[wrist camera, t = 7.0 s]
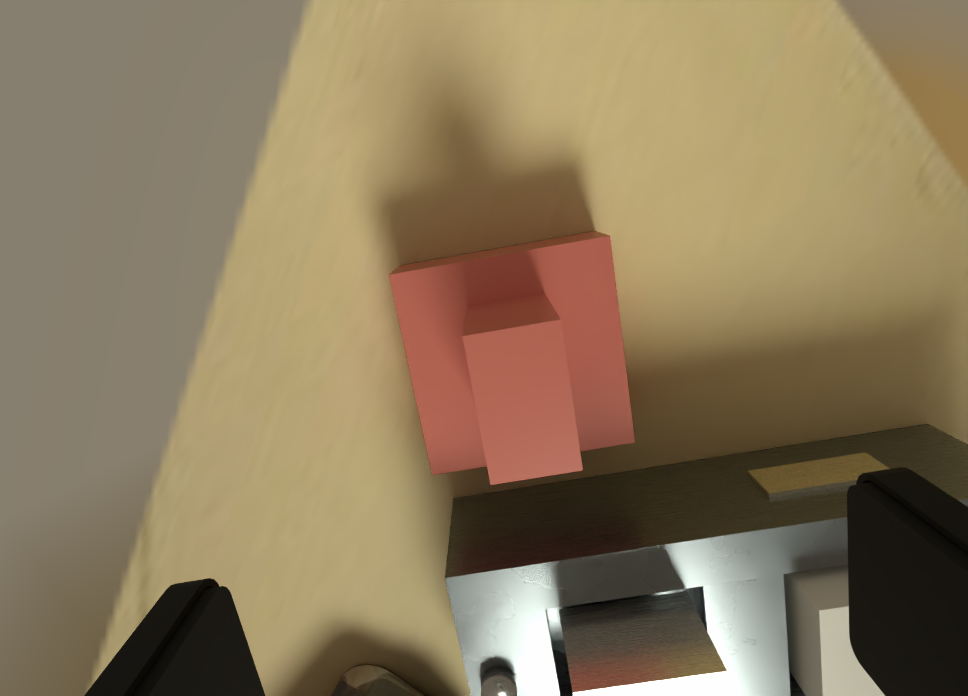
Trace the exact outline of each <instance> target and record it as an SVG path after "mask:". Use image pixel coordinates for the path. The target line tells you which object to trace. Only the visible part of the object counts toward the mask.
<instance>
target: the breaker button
mask: <svg viewBox="0 0 968 696" xmlns="http://www.w3.org/2000/svg"><path fill="white" fill-rule="evenodd" d="M784 591H785V609H786V626H787V643H788V660H789V670H790V672H791V674H792V675H793V677H794V678H795V680H796V681H797V683H798V685H799V686H800V688H801V689H802V691H803V692H804V694H805V696H885V695H884V694H883V692H882V691H881V690H880V689H879V687H878V686H877V685H876V684H875V682H874V681H873V680H872V679H871V677H870V676H869V675H868V674H867V672H866V671H865V670H864V669H863V667H862V666H861V665H860V663H859V662H858V660H857V658H856V656H855V654H854V652H853V649H852V647H851V643H850V637H849V593H848V565H842V566H835V567H829V568H822V569H815V570H808V571H802V572H795V573H788V574H784Z"/></svg>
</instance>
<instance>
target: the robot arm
mask: <svg viewBox="0 0 968 696" xmlns="http://www.w3.org/2000/svg"><path fill="white" fill-rule="evenodd" d="M847 533H848V593H849V637H850V643H851V647H852V649H853V652H854V654H855V656H856V658H857V660H858V662H859V663H860V665H861V666H862V667H863V669H864V670H865V671H866V672H867V674H868V675H869V676H870V677H871V679H872V680H873V681H874V682H875V684H876V685H877V686H878V687H879V689H880V690H881V691H882V692H883V694H884V695H885V696H968V507H967V506H966V505H964V504H963V503H961V502H960V501H958V500H957V499H955V498H954V497H952V496H951V495H949V494H947V493H946V492H944V491H943V490H941V489H940V488H938V487H937V486H935V485H934V484H932V483H931V482H929V481H928V480H926V479H924V478H923V477H921V476H920V475H918V474H917V473H915V472H914V471H912V470H910V469H908V468H906V467H898V468H892V469H885V470H879V471H873V472H867V473H862V474H861V475H859V477H858V479H857V481H856V485H852V486H850V487H849V489H848V491H847ZM85 696H265V694H264V691H263V688H262V685H261V682H260V679H259V676H258V673H257V670H256V667H255V664H254V661H253V658H252V655H251V652H250V649H249V646H248V643H247V640H246V637H245V634H244V631H243V628H242V625H241V622H240V619H239V616H238V613H237V610H236V607H235V604H234V602H233V599H232V596H231V593H230V591H229V590H228V589H227V587H224V586H221V587H219V585H218V583H217V582H216V581H215V580H214V579H210V578H209V579H203V580H196V581H190V582H184V583H178V584H174V585H171V586H170V587H169V588H168V589H167V590H166V591H165V592H164V593H163V595H162V596H161V597H160V598H159V600H158V601H157V602H156V604H155V605H154V606H153V608H152V609H151V610H150V611H149V613H148V614H147V615H146V617H145V618H144V619H143V620H142V622H141V623H140V624H139V626H138V627H137V628H136V630H135V631H134V632H133V633H132V635H131V636H130V637H129V639H128V640H127V641H126V642H125V644H124V645H123V646H122V648H121V649H120V650H119V652H118V653H117V654H116V655H115V657H114V658H113V659H112V661H111V662H110V663H109V664H108V666H107V667H106V668H105V670H104V671H103V672H102V674H101V675H100V676H99V677H98V679H97V680H96V681H95V683H94V684H93V685H92V686H91V688H90V689H89V690H88V692H87V693H86V694H85Z"/></svg>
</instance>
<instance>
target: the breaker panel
mask: <svg viewBox="0 0 968 696" xmlns="http://www.w3.org/2000/svg"><path fill="white" fill-rule="evenodd" d="M898 467H906V468H908V469H910V470H912V471H914V472H915V473H917V474H918V475H920V476H921V477H923V478H924V479H926V480H928V481H929V482H931V483H932V484H934V485H935V486H937V487H938V488H940V489H941V490H943V491H944V492H946V493H947V494H949V495H951V496H952V497H954V498H955V499H957V500H958V501H960V502H961V503H963V504H964V505H966V506H967V507H968V445H967V444H965V443H963V442H961V441H959V440H958V439H956V438H954V437H952V436H950V435H948V434H946V433H944V432H942V431H940V430H938V429H936V428H934V427H932V426H930V425H929V424H924V425H918V426H912V427H905V428H899V429H893V430H886V431H880V432H874V433H867V434H861V435H855V436H849V437H842V438H836V439H830V440H823V441H817V442H811V443H804V444H798V445H792V446H785V447H779V448H773V449H766V450H760V451H754V452H747V453H741V454H735V455H728V456H722V457H716V458H709V459H703V460H697V461H690V462H684V463H678V464H671V465H665V466H659V467H652V468H646V469H640V470H633V471H627V472H621V473H614V474H608V475H602V476H595V477H589V478H583V479H576V480H570V481H564V482H557V483H551V484H545V485H538V486H532V487H526V488H519V489H513V490H507V491H500V492H494V493H488V494H481V495H475V496H469V497H462V498H456V499H453V508H452V517H451V526H450V536H449V545H448V554H447V564H446V573H445V580H446V585H447V590H448V594H449V599H450V603H451V608H452V612H453V617H454V621H455V626H456V630H457V635H458V640H459V644H460V649H461V653H462V658H463V662H464V667H465V671H466V676H467V680H468V685H469V689H470V694H471V696H805V694H804V692H803V691H802V689H801V688H800V686H799V685H798V683H797V681H796V680H795V678H794V677H793V675H792V674H791V672H790V670H789V660H788V643H787V626H786V609H785V591H784V574H788V573H795V572H802V571H808V570H815V569H822V568H829V567H835V566H842V565H848V533H847V491H848V489H849V487H850V486H852V485H856V481H857V479H858V477H859V475H861V474H862V473H867V472H873V471H879V470H885V469H892V468H898Z"/></svg>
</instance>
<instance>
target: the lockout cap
mask: <svg viewBox="0 0 968 696" xmlns="http://www.w3.org/2000/svg"><path fill="white" fill-rule="evenodd" d="M389 277H390V282H391V286H392V291H393V296H394V300H395V305H396V309H397V314H398V319H399V323H400V328H401V333H402V337H403V342H404V347H405V351H406V356H407V360H408V365H409V370H410V374H411V379H412V384H413V388H414V393H415V397H416V402H417V407H418V411H419V416H420V421H421V425H422V430H423V435H424V439H425V444H426V448H427V453H428V458H429V462H430V467H431V472H432V475H436V474H442V473H448V472H455V471H461V470H467V469H473V468H479V467H486V466H487V469H488V474H489V479H490V485H494V484H500V483H507V482H513V481H519V480H526V479H532V478H538V477H545V476H551V475H557V474H564V473H570V472H576V471H582V470H583V467H582V460H581V454H580V451H586V450H592V449H598V448H604V447H611V446H617V445H623V444H629V443H635V438H634V430H633V422H632V414H631V405H630V397H629V389H628V381H627V372H626V364H625V356H624V348H623V339H622V331H621V323H620V315H619V306H618V298H617V290H616V282H615V273H614V265H613V257H612V249H611V241H610V236H609V235H606V234H603V233H600V232H597V231H593V232H588V233H582V234H576V235H571V236H565V237H559V238H554V239H548V240H542V241H537V242H531V243H525V244H520V245H514V246H509V247H503V248H497V249H492V250H486V251H480V252H475V253H469V254H463V255H458V256H452V257H446V258H441V259H435V260H430V261H424V262H418V263H413V264H407V265H401V266H399V267H398V268H397V269H396V270H394V271H393V272H392V273H391V274H389Z"/></svg>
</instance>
